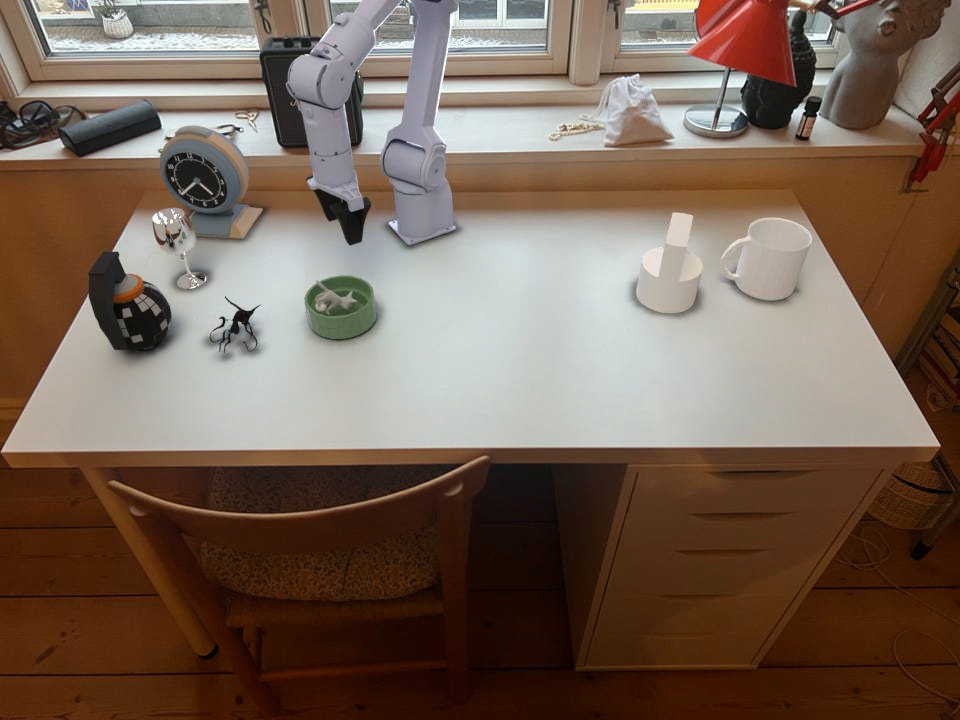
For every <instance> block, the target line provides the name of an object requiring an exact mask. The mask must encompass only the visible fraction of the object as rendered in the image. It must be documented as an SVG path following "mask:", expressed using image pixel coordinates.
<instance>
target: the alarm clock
mask: <svg viewBox="0 0 960 720" xmlns="http://www.w3.org/2000/svg"><path fill="white" fill-rule="evenodd" d="M159 159H160V160H159V170H160V175H161V179H162V182H163V184H164V186H165V188H166V189H167V191H168V192H169V193H170V195H171V196H172V197H173V198H174V199H175V200H176V201H177V202H179V203H180V204H182V205H183V206H185V207H186V208H187V209H190V210H192V211H193V212H192V213H191V214H190V215H189V216H188V218H189V219H190V221H191V223H192V225H193V227H194V229H195V233H196V237H205V238H218V239H232V240H233V239H235V240H244V239H245V237H246V236H247V234H248V233H249V231H250V230H251V229H252V227H253V225H254V224H255V223H256V221H257V220H258V218H259V217H260V215H261V214H262V212H263V211H264V208H262V207H254V206H253V207H252V206H250V205H247V204H242V203H240V202H241V201H242V199H243V198H244V197H245V195H246V193H247V192H248V189H249V185H250V184H249V183H250V171H249V165H248V163H247V160H246V158H245V155H244V154H243V152H242V150H241V149H240V147H239V146H238V145H236V143H235V142H233V140H231V139H230V138H229V137H228V136H226V135H224V134H222V133H221V132H218V131H215V130H214V129H211V128H208V127H205V126H202V125H195V124H193V125H191V124H190V125H184V126H181V127H179V128H178V129H177V130H176V131H175V132H174V135H173V136H171V138H170V139H169V140H168V141H167V142H166V143H165V144H164V146H163V148H162V150H161V152H160V158H159Z"/></svg>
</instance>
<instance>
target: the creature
mask: <svg viewBox="0 0 960 720" xmlns="http://www.w3.org/2000/svg"><path fill="white" fill-rule="evenodd" d="M224 299H225V300H226V301H227V302H228V303H229V304H230V305H232V306H233V307H235V308H236V309H237V311H235V313H234V316H233V317H232V319H230V321H231V322H232V323H231V324H230V323H229V319H228V318H227V319H226V317H225V316H224V315H223V316H219V318H218V319H219V320H222V322H221V324H220V325H219V326H216V327H215V328H214V329H213V330H212V331H211V332H210V333H209V340H210V342H211V343H216V342H219V341H220V342H219V349H218V352H219V353H220V352H221V350H222V344H224V343H225V344H224V346H223V347H224V348H223V354H225V353H226V347H227V345H229V344H231V343H232V339H231V334H234V335H236V336H237V335H239V334H240V329H241V327H240V324H241V325H242V326H243V327H244V331H245V333H247V334H248V335H250V337H252V338H253V340H254V342H255V346H254V348H253V349H252V350H249V348H248V345H247V344H246V342H247V340H246V341H242V343H243V345H245V348H246V349H247V352H253V351H254V350H255V349H256V348H257V347H258V343H259V341H258V339H257V338H256V336H255V335H254V332H253V329H252V326H251V323H250V318H251V317H252V316H253V315H254V313H255V311H256V310H257V309H258V308H259V307H260V306H262V305H263V304H258V305H257V306H255V307H253V308H252V309H250V310H245V309H244V308H242V307H240V306H239V305H237V304H236V303H234V302H232V301H231V300H230V299H228V297H227V296H224ZM226 322H227V323H228V324H229V326H230V328H229V329H225V330H223V332H222V338H220V339H217V340H216V341H215V340H212V338H211V337H212V333H213V332H215V331H217V330H218V329H219V330H220V329H223V328H224V327H225V325H226ZM239 323H240V324H239ZM247 326H248V327H249V330H250V331H249V330H248V327H247ZM226 331H227V332H228V333H226ZM226 334H227V335H226ZM225 336H227V337H225ZM226 340H227V342H225V341H226Z"/></svg>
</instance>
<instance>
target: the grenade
mask: <svg viewBox="0 0 960 720" xmlns="http://www.w3.org/2000/svg"><path fill="white" fill-rule="evenodd" d="M87 275H88V299H89V303H90V306H91V309H92V313H93V315H94V318H95V320H96V321H97V324H98V327H99V329H100V330H101V332H102V333H103V334H104V336H105V337H106V338H107V340H108V341H109V343H110V345H111V347H112V348H113V350H114V351H125V350H126V351H128V350H130V351H134V352H147V351H150V350H153V349H155V348H157V347H158V346H160V345H161V344H162V343H163V341H164V339H165V338H166V336H167V335H168V332H169V331H170V329H171V327H172V314H173V313H172V309H171V305H170V303H169V301H168V300H167V298H166V296H165V295H164V293H163V292H162V291H161V290H160V289H159V288H158V287H157V286H156V285H154V283H151V282H149V281H146V280H143V278H142V277H141V276H140V275H138V274H134V273H126V271H125V270H124V267H123V264H122V262H121V260H120V253H119V251H102V253H101V254H100V255H99V257H97V259H96V261H95V263H94V264H93V265H92V267H90V269H89V271H88V272H87Z"/></svg>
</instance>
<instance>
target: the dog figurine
mask: <svg viewBox="0 0 960 720" xmlns="http://www.w3.org/2000/svg"><path fill="white" fill-rule="evenodd" d="M319 281H320V280H319V279H316V280H315V283H317V284H318V286H319V287H320V288H322V289H323V290H325V291H324V292H322V293H321V294H318V295H317V296H316V298H315V301H316V305H315V309H316V310H317V311H318V312H321V313H322V312H325V311H326V313H327V314H328V315H329V314H330V313H329V310H331V309H333V308H338V307H341V308H342V309H343V310H345V311H347V312H349V314H350V313H352V312H353V309H352V307H353V306H354V302H357V300H354V299H353V298H352V292H353V291H351V292H350V293H349V294H348V295H347V296H346V297H339V296H338V295H337V294H335V293H334V292H333V291H331V290H328V289H327V288H326V287H325V286H324V285H323V284H322V283H320V282H319ZM318 298H319V299H318ZM328 301H329V302H328ZM325 302H328V304H327V305H326V303H325ZM327 307H329V308H327Z"/></svg>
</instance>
